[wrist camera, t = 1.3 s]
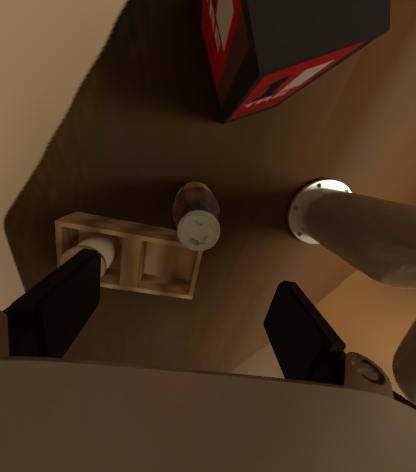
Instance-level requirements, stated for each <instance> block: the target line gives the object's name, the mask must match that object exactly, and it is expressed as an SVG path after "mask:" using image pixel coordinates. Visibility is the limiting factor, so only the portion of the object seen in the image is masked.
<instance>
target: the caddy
mask: <svg viewBox="0 0 416 472" xmlns="http://www.w3.org/2000/svg"><path fill="white" fill-rule="evenodd" d="M55 232H56V251H57V268H58V267H60V259H61V257H62V255H63V254H64V253H65V252H66V251H67V250H69V249H70V248H72V247H74V246H77V245H78V244H80V243H81V242H82V241H84V240H85V239H87V238H88V237H89V236H91V235H92V234H94V233H102V234H108V235H114V236H116V237H117V238H118V240H119V242H120V244H121V251H120V253H119V255H118V256H117V257H116V259H115V260H114V261H113V262H112V263H111V265H110V266H109V267H108V268H107V269H106V272H105V274H104V275H103V276H102V278H101V279H100V287H107V288H114V289H121V290H128V291H135V292H142V293H149V294H156V295H163V296H170V297H177V298H185V299H192V297H193V292H194V288H195V283H196V279H197V275H198V270H199V266H200V261H201V257H202V253H203V251H193V250H189V249H187V248H186V247H185V246H183V245H182V244H181V242H180V241H179V239H178V237H177V230H174V229H169V228H163V227H158V226H152V225H147V224H142V223H136V222H131V221H125V220H120V219H114V218H109V217H104V216H98V215H93V214H87V213H82V212H74V213H71V214H69V215H67V216H64V217H62V218H60V219H57V220H55Z"/></svg>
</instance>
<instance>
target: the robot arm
mask: <svg viewBox="0 0 416 472" xmlns="http://www.w3.org/2000/svg"><path fill="white" fill-rule="evenodd" d="M293 207H294V208H293ZM287 221H288V226H289V228H290V231H291V232H292V233H293V235H294V236H296V237H297V238H298V239H299V240H301V241H303V242H305V243H309V244H321V245H323V246H324V247H326V248H327V249H328V250H330V251H331V252H333V253H334V254H336V255H337V256H339V257H340V258H342V259H343V260H345V261H346V262H348V263H349V264H351V265H352V266H353V267H355V268H356V269H358V270H360V271H361V272H363V273H364V274H366V275H367V276H369V277H370V278H372V279H373V280H375V281H377V282H379V283H382V284H384V285H387V286H391V287H396V288H416V206H412V205H408V204H403V203H398V202H393V201H388V200H384V199H379V198H374V197H369V196H365V195H360V194H355V193H352V192H351V190H350V189H349V188H348V186H347V185H345V184H344V183H342V182H340V181H337V180H332V179H321V180H316V181H314V182H311V183H309V184H308V185H306V186H304V187H303V188H302V189H301V190H300V191H299V192H298V193H297V194H296V195H295V196H294V198H293V200H292V201H291V203H290V206H289V209H288V213H287ZM100 278H101V254H99V253H98V252H97V250H92V249H86V248H83V249H81V250H80V251H79V252H78V253H76V254H75V255H74V256H72V257H71V258H70V259H69V260H67V261H66V262H65V263H63V264H62V265H61V266H60V267H58V268H57V269H56V270H54V271H53V272H52V273H51V274H49V275H48V276H47V277H45V278H44V279H43V280H42V281H40V282H39V283H38V284H36V285H35V286H34V287H33V288H31V289H30V290H29V291H27V292H26V293H25V294H24V295H22V296H21V297H20V298H18V299H17V300H16V301H15V302H13V303H12V304H11V305H10V306H9V307H8V308H6V309H5V310H4V311H3V312H2V311H0V472H416V319H415V320H414V322H413V323H412V325H411V327H410V328H409V330H408V331H407V333H406V334H405V336H404V338H403V340H402V341H401V343H400V344H399V346H398V348H397V350H396V352H395V354H394V357H393V362H392V363H393V364H392V369H393V374H394V377H395V380H396V382H397V384H398V386H399V388H400V389H401V391H402V392H403V394H404V395H405V397H406V398H407V399H408V400H409V401H408V400H406V399H405V398H404V397H402V396H400V395H399V394H397V393H396V392H394V391H393V390H392V386H391V382H390V380H389V378H388V376H387V375H386V373H385V372H384V371H383V370H382V369H381V368H380V367H379V366H378V365H377V364H375V363H374V362H373V361H372V360H370V359H368V358H367V357H365V356H363V355H361V354H358V353H355V352H349V353H347V354H345V352H344V351H343V350H344V348H345V346H346V345H345V343H344V342H343V341H342V340H341V339H340V337H339V336H338V335H337V334H336V333H335V331H334V330H333V329H332V327H331V326H330V325H329V324H328V322H327V321H326V320H325V319H324V317H323V316H322V315H321V314H320V313H319V311H318V310H317V309H316V308H315V306H314V305H313V304H312V303H311V301H310V300H309V299H308V298H307V296H306V295H305V294H304V293H303V291H302V290H301V289H300V288H299V287H298V285H297V284H296V283H295V282H289V281H283V282H282V283H280V284H279V285H278V288H277V290H276V293H275V295H274V298H273V300H272V303H271V305H270V308H269V310H268V313H267V315H266V318H265V320H264V328H265V330H266V333H267V335H268V338H269V340H270V343H271V345H272V348H273V350H274V353H275V355H276V357H277V360H278V362H279V365H280V367H281V370H282V372H283V375H284V377H285V379H283V378H273V377H263V376H254V375H244V374H234V373H223V372H213V371H202V370H192V369H181V368H171V367H160V366H149V365H137V364H126V363H115V362H104V361H92V360H78V359H64V358H63V356H64V355H65V353H66V352H67V350H68V349H69V347H70V346H71V344H72V343H73V341H74V340H75V338H76V337H77V335H78V334H79V332H80V331H81V330H82V328H83V327H84V325H85V324H86V322H87V321H88V319H89V318H90V316H91V315H92V313H93V312H94V310H95V309H96V307H97V306H98V304H99V300H100Z"/></svg>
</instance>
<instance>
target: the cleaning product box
mask: <svg viewBox="0 0 416 472" xmlns="http://www.w3.org/2000/svg"><path fill="white" fill-rule="evenodd" d="M193 2H194V6H195V10H196V14H197V18H198V22H199V26H200V30H201V34H202V39H203V43H204V47H205V51H206V55H207V59H208V63H209V67H210V71H211V75H212V79H213V83H214V87H215V92H216V96H217V100H218V104H219V108H220V112H221V116H222V120H223V124H225V123H228V122H231V121H234V120H237V119H240V118H243V117H246V116H248V115H251V114H254V113H257V112H260V111H263V110H266V109H269V108H272V107H275V106H277V105H279V104H280V103H282V102H283V101H284V100H286V99H287V98H289V97H290V96H292V95H293V94H295V93H296V92H298V91H299V90H301V89H302V88H304V87H305V86H307V85H308V84H310V83H311V82H313V81H314V80H315V79H317V78H318V77H320V76H321V75H323V74H324V73H326V72H327V71H329V70H330V69H332V68H333V67H335V66H336V65H338V64H339V63H341V62H342V61H343V60H345V59H346V58H348V57H349V56H351V55H352V54H354V53H355V52H357V51H358V50H360V49H361V48H363V47H364V46H366V45H367V44H369V43H370V42H372V41H373V40H374V39H376V38H377V37H379V36H380V35H382V34H383V33H385V32H386V31H388V30H389V28H390V0H193Z"/></svg>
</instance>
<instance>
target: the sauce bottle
mask: <svg viewBox="0 0 416 472" xmlns="http://www.w3.org/2000/svg"><path fill="white" fill-rule="evenodd" d="M172 215H173V220H174V222H175V226H176V228H177V237H178V239H179V241H180V242H181V244H182V245H183V246H185V247H186V248H187V249H189V250H193V251H205V250H207V249H210V248H211V247H213V246H214V245H215V244H216V242H217V241H218V239H219V237H220V224H219V217H220V208H219V204H218V201H217V199H216V197H215V196H214V195H213V193H212V192H211V191H210V189H209V188H208V187H207V186H206V185H205V184H203V183H201V182H196V181H193V182H188V183H186V184H185V185H184V186H182V187H181V188H180V190H179V191H178V194H177V196H176V198H175V200H174V203H173V208H172Z"/></svg>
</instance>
